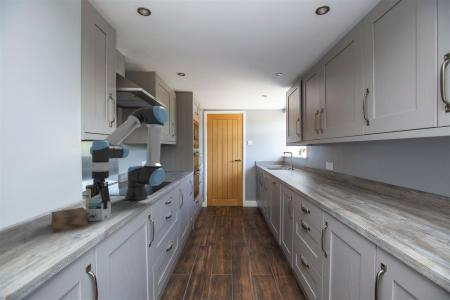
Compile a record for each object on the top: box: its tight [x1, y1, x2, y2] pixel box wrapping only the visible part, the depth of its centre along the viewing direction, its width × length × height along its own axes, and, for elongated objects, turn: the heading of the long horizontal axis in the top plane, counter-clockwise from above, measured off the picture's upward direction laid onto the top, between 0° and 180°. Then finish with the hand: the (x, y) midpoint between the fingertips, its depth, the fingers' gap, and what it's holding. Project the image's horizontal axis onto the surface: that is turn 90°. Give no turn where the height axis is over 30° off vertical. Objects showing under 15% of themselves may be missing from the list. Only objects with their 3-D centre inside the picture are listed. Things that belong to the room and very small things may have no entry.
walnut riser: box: [51, 206, 89, 233], centre depth 94 cm, size 12×12×6 cm
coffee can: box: [85, 183, 101, 213], centre depth 118 cm, size 10×10×14 cm
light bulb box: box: [88, 194, 112, 222], centre depth 105 cm, size 11×7×11 cm, turn 9°
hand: (100, 212), depth 105 cm, fingers closed on light bulb box, 12 cm apart
